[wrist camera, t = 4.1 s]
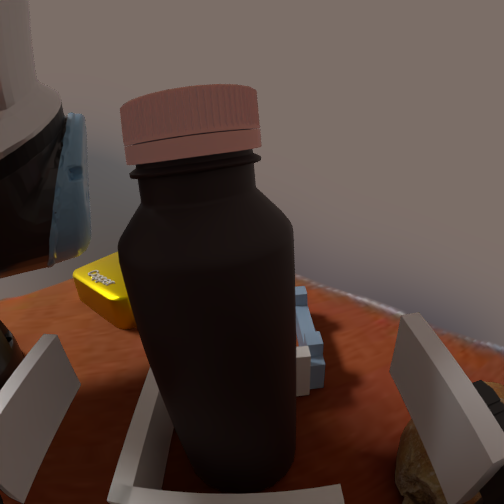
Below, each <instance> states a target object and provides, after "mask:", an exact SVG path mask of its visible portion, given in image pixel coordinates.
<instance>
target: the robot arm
mask: <svg viewBox="0 0 504 504" xmlns="http://www.w3.org/2000/svg"><path fill="white" fill-rule="evenodd" d="M90 240H91V214H90V197H89V178H88V158H87V135H86V126H85V117H84V116H83V115H82V114H74V113H72V112H71V113H68V115H67V116H64V113H63V108H62V102H61V98H60V95H59V92H58V91H57V90H55V89H53V88H51V87H49V86H47V85H45V84H43V83H41V82H40V81H39V80H38V79H37V77H36V70H35V63H34V56H33V48H32V39H31V27H30V12H29V0H0V278H4V277H8V276H12V275H16V274H20V273H24V272H28V271H33V270H37V269H41V268H46V267H48V268H49V267H52V266H53V265H54V264H56V263H59V262H62V261H65V260H68V259H71V258H74V257H77V256H79V255H81V254H82V253H83V252H84V251H85V250H86V249H87V248H88V245H89V243H90ZM389 372H390V374H391V376H392V378H393V380H394V382H395V384H396V386H397V388H398V390H399V392H400V394H401V396H402V398H403V401H404V403H405V405H406V407H407V409H408V411H409V413H410V416H411V418H412V420H413V422H414V424H415V427H416V429H417V431H418V433H419V435H420V438H421V440H422V442H423V445H424V447H425V449H426V451H427V454H428V456H429V458H430V461H431V463H432V466H433V468H434V470H435V473H436V475H437V478H438V480H439V483H440V485H441V488H442V490H443V493H444V495H445V498H446V501H447V503H448V504H463V503H465V502H467V501H469V500H471V499H472V498H473V497H474V496H475V495H476V494H477V493H478V492H480V494H481V496H482V497H481V498H480V499H479V500H478V501H477V502H476V503H475V504H504V404H503V402H501V401H500V400H501V399H500V398H499V396H498V395H497V394H496V392H495V391H494V389H493V388H492V387H490V386H489V385H487V384H486V383H485V382H483V381H482V380H479V381H477V382H474V383H471V381H470V380H469V378H468V377H467V376H466V374H465V373H464V371H463V370H462V369H461V367H460V366H459V364H458V363H457V362H456V360H455V359H454V357H453V356H452V355H451V353H450V352H449V351H448V349H447V348H446V347H445V345H444V344H443V343H442V341H441V340H440V339H439V337H438V336H437V335H436V333H435V332H434V331H433V330H432V328H431V327H430V326H429V324H428V323H427V322H426V321H425V319H424V318H423V317H422V316H421V314H420V313H419V312H418V313H413V314H406V315H401V319H400V324H399V329H398V335H397V340H396V344H395V349H394V354H393V358H392V363H391V367H390V371H389ZM80 386H81V384H80V382H79V380H78V378H77V376H76V374H75V372H74V370H73V368H72V366H71V364H70V362H69V360H68V358H67V356H66V353H65V351H64V349H63V347H62V345H61V342H60V340H59V338H58V336H57V335H53V334H43V336H42V337H41V338H40V339H39V340H38V342H37V343H36V344H35V345H34V347H33V348H32V349H31V350H30V352H29V353H28V354H27V356H26V357H25V358H24V357H23V354H22V351H21V349H20V347H19V345H18V343H17V341H16V339H15V337H14V336H13V334H12V333H11V332H10V331H9V330H8V329H7V327H6V326H5V325H4V324H3V323H2V322H1V320H0V489H1V490H2V491H3V492H4V493H5V494H6V495H7V496H9V497H10V498H12V499H14V500H16V501H18V502H20V503H23V504H24V502H25V499H26V497H27V495H28V492H29V490H30V488H31V485H32V483H33V481H34V478H35V476H36V474H37V472H38V469H39V467H40V465H41V463H42V461H43V459H44V456H45V454H46V452H47V450H48V448H49V446H50V444H51V442H52V440H53V438H54V436H55V434H56V432H57V430H58V428H59V426H60V424H61V422H62V420H63V418H64V416H65V414H66V412H67V410H68V408H69V406H70V404H71V402H72V400H73V399H74V397H75V395H76V393H77V391H78V389H79V387H80ZM0 504H3V500H2V497H1V495H0Z"/></svg>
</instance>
